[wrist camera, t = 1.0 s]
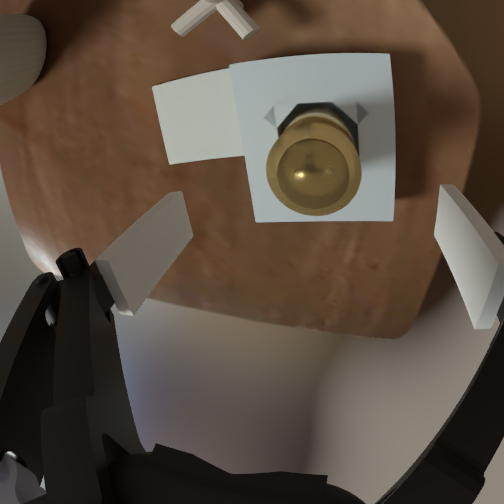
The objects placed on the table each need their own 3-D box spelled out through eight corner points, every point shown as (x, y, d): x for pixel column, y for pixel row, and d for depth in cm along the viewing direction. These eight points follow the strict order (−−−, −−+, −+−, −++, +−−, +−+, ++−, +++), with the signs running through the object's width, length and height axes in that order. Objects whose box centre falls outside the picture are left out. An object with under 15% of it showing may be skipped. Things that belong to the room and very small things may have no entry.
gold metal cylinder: (287, 106, 28) (257, 131, 17) (347, 103, 26) (360, 125, 15) (294, 162, 31) (270, 221, 20) (350, 160, 29) (362, 219, 18)
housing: (243, 65, 27) (229, 64, 23) (380, 56, 23) (389, 53, 19) (265, 202, 36) (255, 222, 32) (385, 200, 32) (393, 221, 28)
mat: (153, 86, 30) (151, 86, 30) (234, 67, 27) (233, 67, 27) (171, 163, 36) (169, 164, 35) (249, 154, 33) (248, 155, 32)
